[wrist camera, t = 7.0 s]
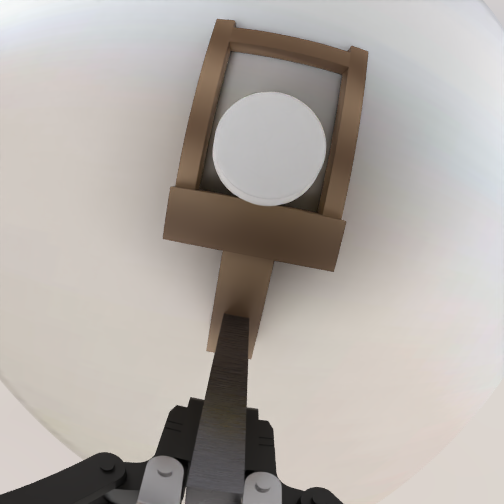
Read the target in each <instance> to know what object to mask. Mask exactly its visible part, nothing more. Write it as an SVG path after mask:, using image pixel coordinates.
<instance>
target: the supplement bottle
mask: <svg viewBox="0 0 504 504" xmlns="http://www.w3.org/2000/svg"><path fill="white" fill-rule="evenodd" d="M325 154H326V138H325V133H324V130H323V127H322V125H321V123H320V121H319V119H318V118H317V116H316V115H315V113H314V112H313V111H312V110H311V109H310V108H309V107H308V106H307V105H306V104H304V103H303V102H302V101H300V100H299V99H297V98H295V97H293V96H290V95H287V94H284V93H280V92H259V93H254V94H251V95H248V96H246V97H244V98H242V99H240V100H238V101H237V102H235V103H234V104H233V105H232V106H231V107H230V108H229V109H228V110H227V111H226V112H225V113H224V115H223V116H222V118H221V119H220V121H219V123H218V126H217V129H216V132H215V137H214V143H213V161H214V166H215V169H216V172H217V174H218V176H219V178H220V180H221V181H222V183H223V184H224V185H225V186H226V187H227V189H228V190H229V191H231V192H232V193H233V194H235V195H236V196H238V197H239V198H241V199H243V200H245V201H247V202H250V203H252V204H256V205H261V206H277V205H281V204H285V203H288V202H291V201H293V200H295V199H297V198H298V197H300V196H301V195H302V194H304V193H305V192H306V191H307V190H308V189H309V188H310V186H311V185H312V184H313V182H314V181H315V179H316V177H317V175H318V173H319V172H320V170H321V168H322V165H323V163H324V159H325Z"/></svg>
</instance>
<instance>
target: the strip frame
mask: <svg viewBox="0 0 504 504" xmlns="http://www.w3.org/2000/svg"><path fill="white" fill-rule="evenodd" d="M231 51H234V52H241V53H248V54H255V55H261V56H267V57H272V58H278V59H283V60H287V61H292V62H296V63H301V64H305V65H309V66H313V67H317V68H320V69H324V70H328V71H331V72H335V73H338V74H341V75H342V80H341V87H340V94H339V100H338V106H337V112H336V118H335V124H334V130H333V136H332V141H331V147H330V152H329V158H328V163H327V168H326V173H325V178H324V183H323V188H322V193H321V197H320V202H319V207H318V211H317V213H316V212H312V211H307V210H303V209H298V208H294V207H289V206H284V205H277V206H261V205H256V204H252V203H250V202H247V201H245V200H243V199H241V198H239V197H238V196H234V195H229V194H223V193H218V192H212V191H206V190H200V184H201V178H202V173H203V168H204V163H205V158H206V153H207V148H208V143H209V139H210V134H211V129H212V125H213V120H214V116H215V112H216V107H217V103H218V99H219V95H220V91H221V86H222V82H223V79H224V75H225V71H226V67H227V63H228V59H229V56H230V52H231ZM367 61H368V51H365V50H362V49H360V48H357V47H354V46H351V47H350V48H349V50H348V51H344V50H341V49H338V48H334V47H331V46H327V45H324V44H320V43H316V42H313V41H309V40H304V39H300V38H296V37H291V36H286V35H281V34H276V33H270V32H264V31H258V30H251V29H243V28H236V24H235V21H234V20H223V19H217V20H216V23H215V26H214V29H213V33H212V36H211V39H210V42H209V45H208V49H207V52H206V55H205V59H204V62H203V66H202V69H201V73H200V77H199V80H198V84H197V88H196V92H195V96H194V100H193V104H192V108H191V112H190V116H189V121H188V125H187V130H186V134H185V139H184V143H183V148H182V153H181V158H180V163H179V169H178V174H177V179H176V185H175V186H173V187H170V193H169V199H168V205H167V212H166V218H165V225H164V233H163V239H166V240H171V241H176V242H181V243H186V244H191V245H196V246H202V247H207V248H212V249H217V250H222V251H223V253H222V258H221V264H220V270H219V276H218V282H217V288H216V293H215V300H214V306H213V312H212V318H211V324H210V331H209V337H208V344H207V350H206V351H209V352H214V353H215V355H214V359H213V364H212V368H211V373H210V377H209V382H208V386H207V391H206V396H205V400H204V405H203V409H202V414H201V419H200V423H199V428H198V433H197V438H196V442H195V447H194V452H193V457H192V462H191V467H190V472H189V476H188V481H187V488H186V499H185V504H239V503H240V501H241V499H242V497H243V494H244V469H245V438H246V407H247V376H248V359H251V358H252V354H253V350H254V346H255V341H256V337H257V333H258V329H259V325H260V320H261V316H262V312H263V308H264V303H265V299H266V295H267V290H268V286H269V281H270V277H271V273H272V268H273V264H274V261H279V262H284V263H290V264H295V265H300V266H305V267H310V268H316V269H321V270H326V271H331V272H334V269H335V265H336V261H337V258H338V254H339V250H340V246H341V242H342V238H343V234H344V230H345V225H346V221H344V220H341V218H342V214H343V210H344V205H345V200H346V196H347V191H348V186H349V181H350V176H351V171H352V165H353V160H354V154H355V149H356V143H357V137H358V131H359V124H360V118H361V111H362V104H363V96H364V88H365V80H366V70H367Z"/></svg>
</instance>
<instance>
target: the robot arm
mask: <svg viewBox="0 0 504 504" xmlns="http://www.w3.org/2000/svg"><path fill="white" fill-rule="evenodd" d="M203 405H204V400H202V399H197V398H192V397H190V400H189V404H188V407H183V406H178V405H177V406H175V407H174V408H173V409H172V410H171V411H170V412H169V415H168V418H167V421H166V424H165V427H164V430H163V432H162V435H161V438H160V441H159V444H158V447H157V450H156V453H155V455H154V456H153V457H152V458H151V459H150V460H148V461H146V462H141V463H130V462H123V461H122V460H121V459H120V458H119V457H118V456H116V455H114V454H112V453H107V452H102V453H98V454H95V455H93V456H91V457H89V458H87V459H85V460H83V461H81V462H79V463H77V464H75V465H73V466H71V467H69V468H66V469H64V470H62V471H60V472H58V473H56V474H53V475H51V476H49V477H46V478H44V479H41V480H39V481H36V482H34V483H31V484H29V485H26V486H24V487H21V488H19V489H16V490H13V491H10V492H7V493H4V494H2V495H0V504H181V503H182V500H183V497H184V493H185V488H186V487H187V481H188V476H189V472H190V467H191V462H192V457H193V452H194V447H195V442H196V438H197V433H198V428H199V423H200V419H201V414H202V409H203ZM239 504H343V503H342V502H341V501H340V500H339V499H338V498H337V497H336V496H335V495H334V494H332V493H331V492H330V491H329V490H327V489H325V488H320V487H313V488H310V489H307V490H306V491H302V490H298V489H295V488H291V487H288V486H286V485H285V484H283V483H282V482H281V481H280V480H279V478H278V477H277V473H276V461H275V447H274V434H273V428H272V427H271V425H270V423H269V422H268V421H264V420H258V409H255V408H248V407H246V438H245V469H244V494H243V497H242V499H241V501H240V503H239Z"/></svg>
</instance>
